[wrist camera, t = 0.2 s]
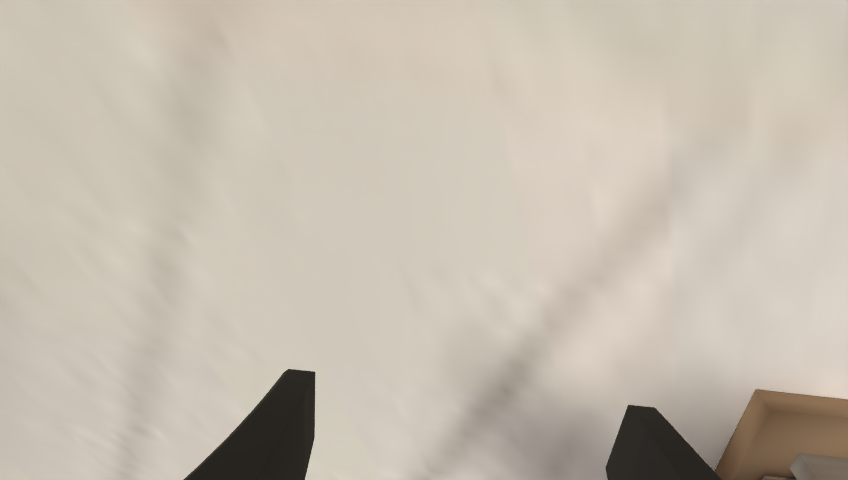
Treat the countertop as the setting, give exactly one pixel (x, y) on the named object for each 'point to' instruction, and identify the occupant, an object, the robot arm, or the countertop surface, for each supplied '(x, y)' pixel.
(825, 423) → the base
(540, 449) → the countertop surface
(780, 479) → the plunger
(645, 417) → the robot arm
